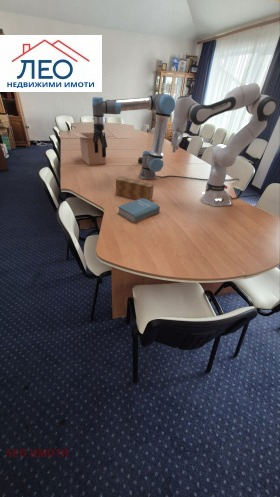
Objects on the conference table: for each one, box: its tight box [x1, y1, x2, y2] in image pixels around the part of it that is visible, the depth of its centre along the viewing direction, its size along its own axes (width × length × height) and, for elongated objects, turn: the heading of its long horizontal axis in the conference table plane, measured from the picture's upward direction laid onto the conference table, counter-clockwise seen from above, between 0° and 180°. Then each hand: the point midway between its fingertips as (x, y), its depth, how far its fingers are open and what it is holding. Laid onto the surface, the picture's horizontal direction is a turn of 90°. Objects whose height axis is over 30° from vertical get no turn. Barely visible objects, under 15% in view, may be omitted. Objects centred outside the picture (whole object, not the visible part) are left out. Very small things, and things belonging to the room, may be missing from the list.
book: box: [117, 198, 161, 223], centre depth 145 cm, size 23×16×5 cm
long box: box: [115, 176, 155, 202], centre depth 163 cm, size 28×6×12 cm, turn 66°
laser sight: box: [137, 156, 143, 165], centre depth 237 cm, size 10×22×10 cm, turn 78°
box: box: [70, 129, 114, 166], centre depth 229 cm, size 44×36×27 cm
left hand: (100, 154), depth 169 cm, fingers open, 13 cm apart
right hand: (175, 150), depth 145 cm, fingers open, 8 cm apart
